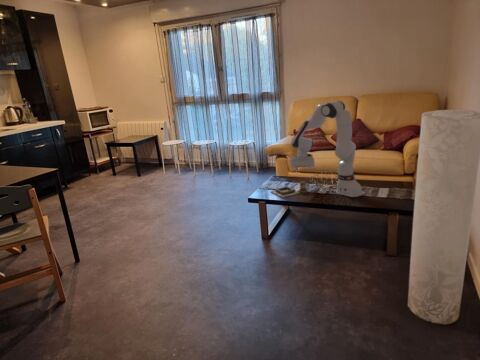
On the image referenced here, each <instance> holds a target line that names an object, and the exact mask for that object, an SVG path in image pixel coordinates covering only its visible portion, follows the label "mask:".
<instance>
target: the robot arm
mask: <svg viewBox="0 0 480 360" xmlns="http://www.w3.org/2000/svg"><path fill="white" fill-rule="evenodd" d="M327 118H329V119H335V121H336V123H335V124H336V144H335V145H336V146H335V150H334V155H335V156H336V158H338V159H339V161H338V164H337V165H338V166H337V169H338V171H337V185H336V190H335V193H336V194H338V195H342V196H347V197H350V198H354V197H355V198H356V197H361V196H364V195H365V191H363V190H362V186H361V184H360V183H359V182H358V181H357V180H356V175H355V174H354V161H355V156H356V154H355V153H356V149H357V145H356V143H355V142H353V141H352V137H353V125H352V116H351V113H350V111H349V110H348V109H346V104H345V103H344V101H340V100H336V101H329V102H326V103H319V104H318V105H317V106H316V108H315V109H314V111H313V113H312V115H311V116H310V118H308V119H307V120H305V121H304V122H303V123H302V125H300V128H299V130H297V133H295V135H294V136H293V137H292V139H291V142H290V143H291V144H290V145H291V146H292V148H294V149H296V151H297V153H296V156H294V157H290V159H289V160H290V167H291V168H294V169H295V171H296V173H297V172H298V171H299V169H298V168H307V172H310V170H311V168H314V167H315V165H316V162H315V158H314V155H313V154H312V153H308V152H310V151H311V150H312V149H313V148H314V140H313V139H312V138H308V137H304V136H303V135H305V132H306V131H308V130H312V129H319V128H321V127H322V126H323V125H324V123H325V121H326V119H327Z"/></svg>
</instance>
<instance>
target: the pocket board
mask: <svg viewBox="0 0 480 360" xmlns="http://www.w3.org/2000/svg"><path fill="white" fill-rule="evenodd" d="M270 193H271V194H273V195H275V196H277V197H279V198H281V199H284V198H285V199H286V198H287V197H291V196H297V195H299V194H300V195H301V192H299V190H296V189H295V188H292V187H290V186H288V185H287V186H283V187H279V188H275V189H274V190H272V191H270Z"/></svg>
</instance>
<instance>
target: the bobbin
mask: <svg viewBox="0 0 480 360" xmlns="http://www.w3.org/2000/svg"><path fill="white" fill-rule="evenodd" d="M299 187H300V188H299V190H298V191H299V192H300V194H301V193H303V194H304V193H307V191H308V189H307V182H306V181H305V180H304V181H303V180H302V181H299Z"/></svg>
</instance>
